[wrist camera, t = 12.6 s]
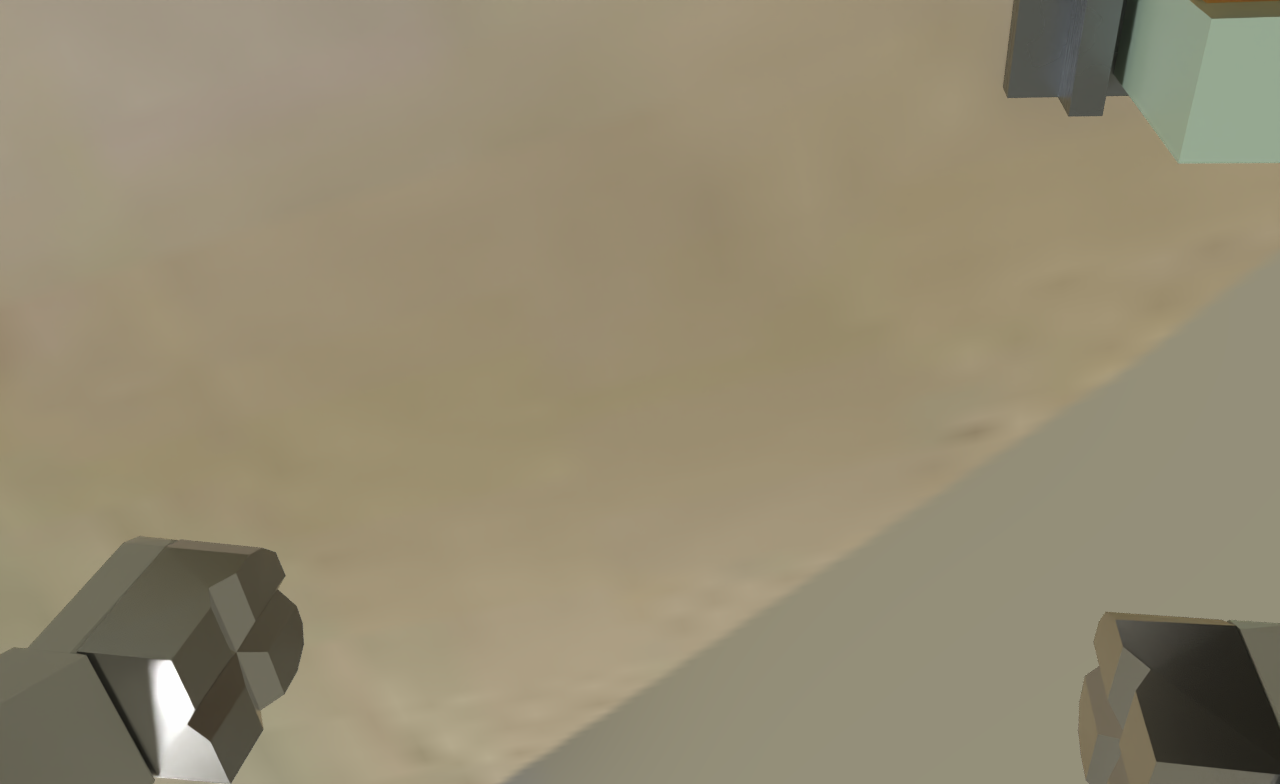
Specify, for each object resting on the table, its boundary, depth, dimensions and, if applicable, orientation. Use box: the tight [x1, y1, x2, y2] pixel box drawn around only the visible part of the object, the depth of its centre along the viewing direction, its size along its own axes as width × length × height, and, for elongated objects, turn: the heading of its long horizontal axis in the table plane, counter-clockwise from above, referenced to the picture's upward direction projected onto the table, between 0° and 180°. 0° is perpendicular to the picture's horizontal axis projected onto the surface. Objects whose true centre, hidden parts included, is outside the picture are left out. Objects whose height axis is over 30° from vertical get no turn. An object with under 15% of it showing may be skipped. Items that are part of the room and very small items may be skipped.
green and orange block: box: [1114, 0, 1280, 163], centre depth 28 cm, size 4×4×8 cm
